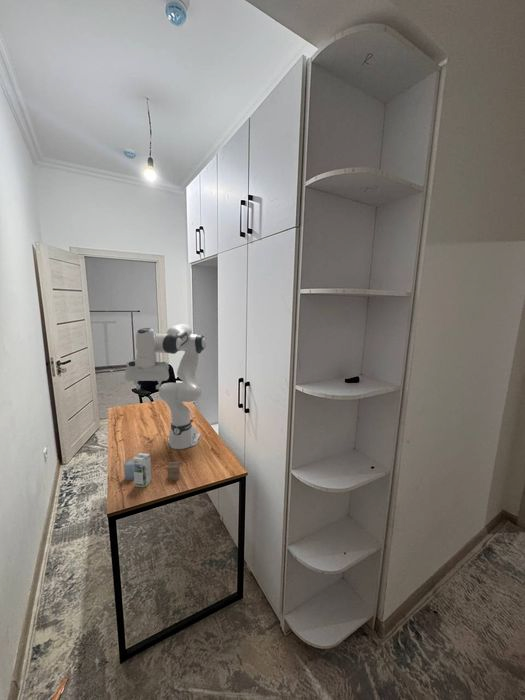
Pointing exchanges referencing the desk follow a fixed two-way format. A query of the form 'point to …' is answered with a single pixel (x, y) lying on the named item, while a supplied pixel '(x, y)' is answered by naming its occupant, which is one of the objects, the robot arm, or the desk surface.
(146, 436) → the desk surface
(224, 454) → the desk surface
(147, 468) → the syrup box
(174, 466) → the walnut block
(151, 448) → the desk surface
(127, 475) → the slate cylinder
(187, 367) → the robot arm
